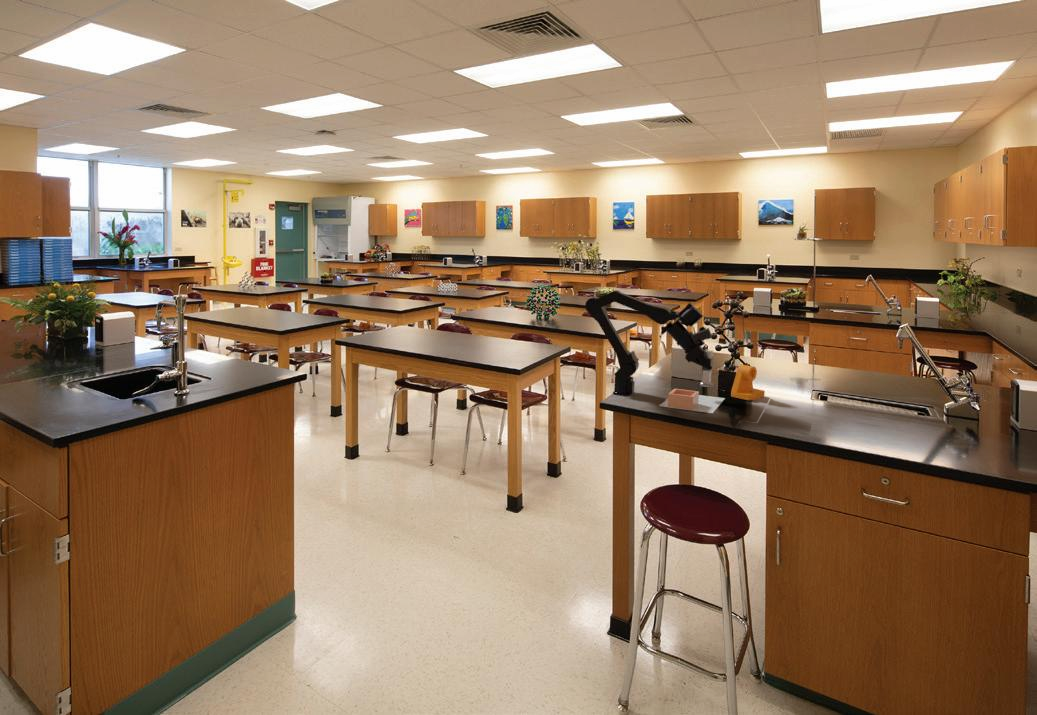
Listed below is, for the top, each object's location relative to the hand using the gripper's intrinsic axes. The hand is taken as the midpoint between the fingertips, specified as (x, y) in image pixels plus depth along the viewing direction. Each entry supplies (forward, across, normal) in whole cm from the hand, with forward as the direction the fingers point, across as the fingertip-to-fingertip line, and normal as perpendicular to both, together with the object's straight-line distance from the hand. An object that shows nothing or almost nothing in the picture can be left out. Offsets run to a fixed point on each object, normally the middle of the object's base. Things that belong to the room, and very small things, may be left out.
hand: (711, 367), depth 210 cm
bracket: (+18, +9, -1) cm, 20 cm away
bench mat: (+5, -5, +12) cm, 14 cm away
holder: (+2, -11, +14) cm, 18 cm away
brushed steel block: (+4, 0, +6) cm, 7 cm away
